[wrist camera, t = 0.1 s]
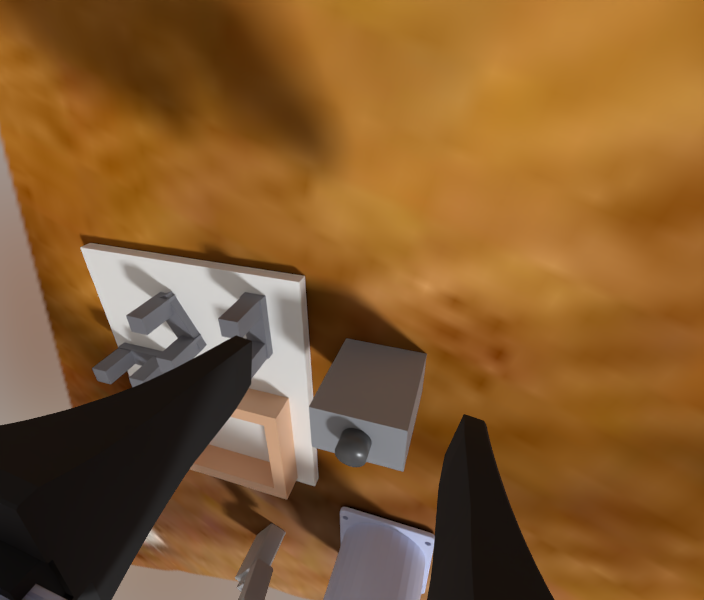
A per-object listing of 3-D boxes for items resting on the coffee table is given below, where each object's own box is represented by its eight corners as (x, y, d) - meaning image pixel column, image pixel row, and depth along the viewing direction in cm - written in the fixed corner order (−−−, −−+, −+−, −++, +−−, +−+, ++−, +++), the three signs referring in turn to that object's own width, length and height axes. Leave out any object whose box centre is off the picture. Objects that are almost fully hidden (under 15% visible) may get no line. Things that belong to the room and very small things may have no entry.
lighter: (269, 544, 42) (227, 633, 36) (256, 535, 42) (211, 622, 36) (299, 523, 38) (257, 619, 32) (284, 512, 38) (239, 607, 31)
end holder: (297, 477, 33) (287, 499, 31) (184, 444, 36) (169, 462, 34) (288, 397, 28) (275, 418, 26) (158, 366, 31) (139, 383, 29)
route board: (318, 478, 33) (300, 521, 30) (159, 431, 37) (128, 465, 34) (304, 275, 23) (275, 309, 20) (90, 242, 27) (38, 266, 24)
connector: (422, 390, 25) (399, 489, 19) (346, 374, 26) (304, 461, 21) (426, 353, 24) (403, 448, 18) (346, 338, 25) (300, 421, 19)
